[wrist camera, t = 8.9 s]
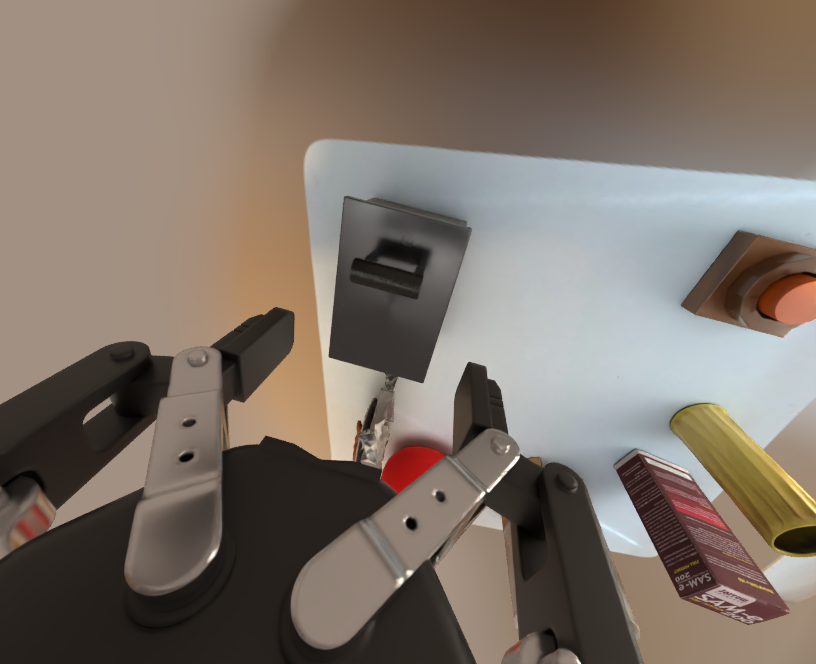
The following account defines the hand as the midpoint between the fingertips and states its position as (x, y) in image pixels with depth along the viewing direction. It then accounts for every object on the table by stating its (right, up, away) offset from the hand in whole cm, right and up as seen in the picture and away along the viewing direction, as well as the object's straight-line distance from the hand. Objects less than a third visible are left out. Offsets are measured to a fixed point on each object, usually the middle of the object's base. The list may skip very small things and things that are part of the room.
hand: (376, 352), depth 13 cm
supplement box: (+37, -19, +30) cm, 51 cm away
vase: (+39, -10, +25) cm, 47 cm away
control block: (+36, +6, +16) cm, 40 cm away
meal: (-2, -10, +32) cm, 34 cm away
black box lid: (0, +4, +14) cm, 14 cm away
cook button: (+35, +4, +13) cm, 38 cm away
